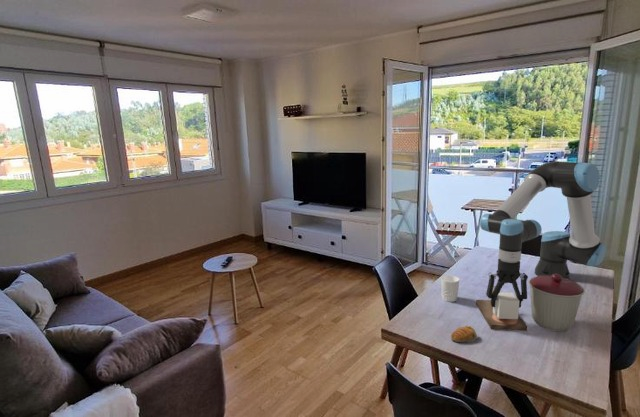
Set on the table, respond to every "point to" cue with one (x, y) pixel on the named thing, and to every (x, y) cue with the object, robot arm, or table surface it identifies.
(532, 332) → the table surface
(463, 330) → the pastry
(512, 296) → the matte off-white cube
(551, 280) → the canister
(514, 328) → the board
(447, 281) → the white cup
